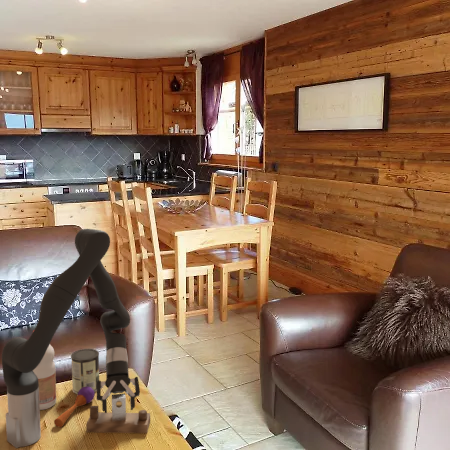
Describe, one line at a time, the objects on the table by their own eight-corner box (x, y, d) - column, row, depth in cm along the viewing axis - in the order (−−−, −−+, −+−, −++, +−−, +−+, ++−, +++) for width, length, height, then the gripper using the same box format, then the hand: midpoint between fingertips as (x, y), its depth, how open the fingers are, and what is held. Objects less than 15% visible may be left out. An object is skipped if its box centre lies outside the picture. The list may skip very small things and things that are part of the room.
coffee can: (86, 379, 198) (85, 346, 196) (105, 386, 193) (104, 352, 191) (66, 390, 190) (65, 355, 187) (85, 397, 184) (84, 362, 182)
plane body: (86, 432, 163) (85, 412, 162) (91, 420, 170) (91, 401, 169) (147, 433, 163) (147, 413, 162) (150, 421, 170) (150, 402, 169)
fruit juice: (46, 412, 174) (44, 337, 169) (23, 408, 176) (19, 334, 171) (61, 399, 183) (59, 327, 178) (39, 395, 185) (36, 324, 180)
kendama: (48, 415, 166) (81, 383, 184) (53, 430, 167) (85, 397, 185) (63, 415, 164) (95, 383, 182) (68, 431, 165) (99, 397, 184)
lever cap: (112, 422, 164) (112, 399, 162) (112, 416, 167) (111, 394, 166) (125, 420, 165) (125, 398, 163) (125, 415, 168) (125, 393, 167)
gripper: (95, 361, 168) (96, 410, 159) (138, 357, 172) (141, 405, 163) (96, 369, 174) (96, 416, 165) (137, 365, 178) (140, 411, 169)
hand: (119, 410), depth 164 cm, fingers open, 8 cm apart
